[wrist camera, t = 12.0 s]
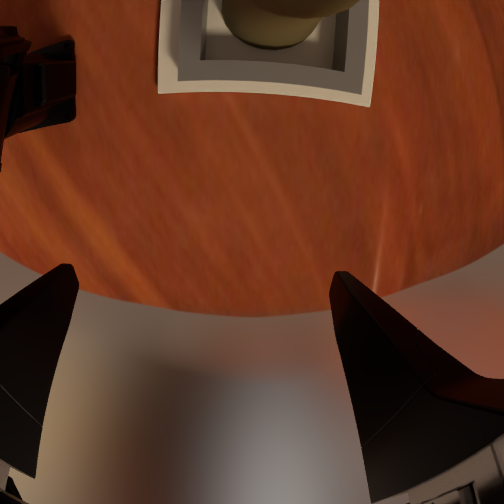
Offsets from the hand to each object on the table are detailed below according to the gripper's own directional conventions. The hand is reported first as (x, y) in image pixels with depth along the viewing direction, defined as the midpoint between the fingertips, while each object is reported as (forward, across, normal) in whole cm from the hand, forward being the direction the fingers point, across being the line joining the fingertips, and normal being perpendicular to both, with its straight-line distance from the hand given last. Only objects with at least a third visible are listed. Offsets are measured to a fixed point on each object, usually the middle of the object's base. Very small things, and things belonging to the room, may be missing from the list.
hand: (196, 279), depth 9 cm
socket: (+13, -3, -11) cm, 17 cm away
